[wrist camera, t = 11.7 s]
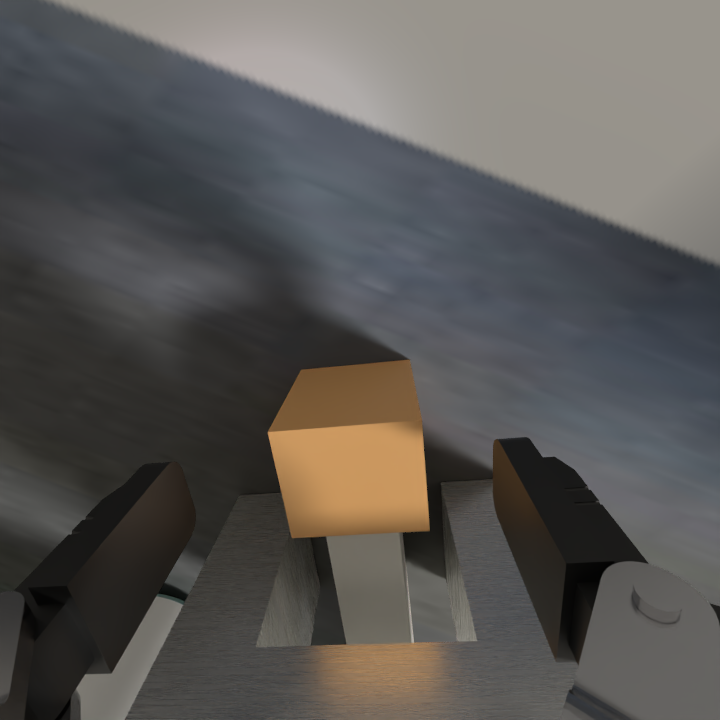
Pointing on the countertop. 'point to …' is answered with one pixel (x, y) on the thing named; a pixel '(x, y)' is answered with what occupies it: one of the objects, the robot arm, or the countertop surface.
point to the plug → (357, 485)
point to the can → (129, 665)
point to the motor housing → (358, 661)
